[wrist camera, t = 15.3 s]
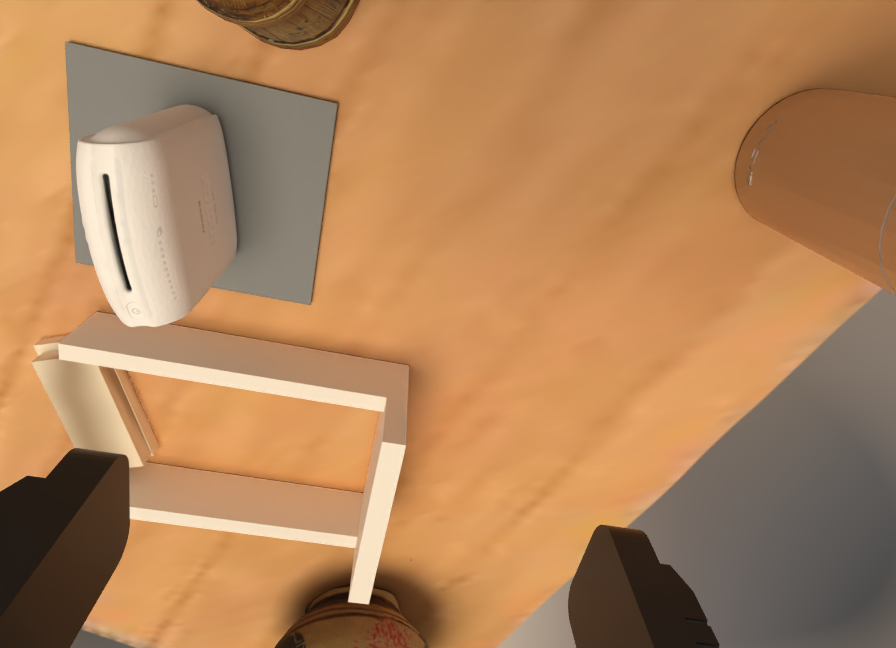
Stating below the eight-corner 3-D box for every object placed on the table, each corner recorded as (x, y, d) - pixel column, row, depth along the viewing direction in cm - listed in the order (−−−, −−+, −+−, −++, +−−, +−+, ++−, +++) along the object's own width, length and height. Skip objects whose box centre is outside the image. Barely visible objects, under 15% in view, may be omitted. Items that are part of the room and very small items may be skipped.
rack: (409, 365, 46) (406, 445, 37) (377, 505, 52) (368, 604, 43) (96, 311, 43) (9, 384, 34) (101, 467, 49) (28, 564, 40)
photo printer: (245, 262, 41) (179, 344, 30) (182, 261, 41) (92, 344, 30) (226, 104, 36) (140, 132, 25) (155, 102, 36) (37, 130, 25)
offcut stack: (111, 327, 44) (90, 346, 41) (161, 443, 48) (145, 467, 46) (45, 336, 44) (20, 355, 41) (101, 451, 48) (82, 476, 46)
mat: (338, 103, 37) (337, 103, 37) (311, 302, 43) (310, 305, 43) (69, 41, 35) (65, 41, 35) (79, 260, 41) (75, 262, 40)
